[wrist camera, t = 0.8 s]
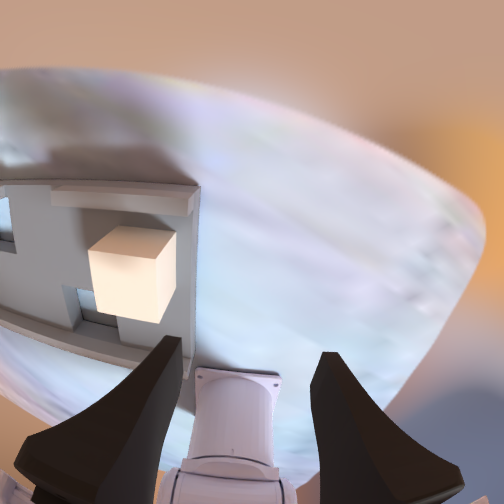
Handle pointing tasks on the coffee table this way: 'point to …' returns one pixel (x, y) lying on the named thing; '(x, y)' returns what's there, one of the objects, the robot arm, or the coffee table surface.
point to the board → (78, 267)
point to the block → (134, 272)
